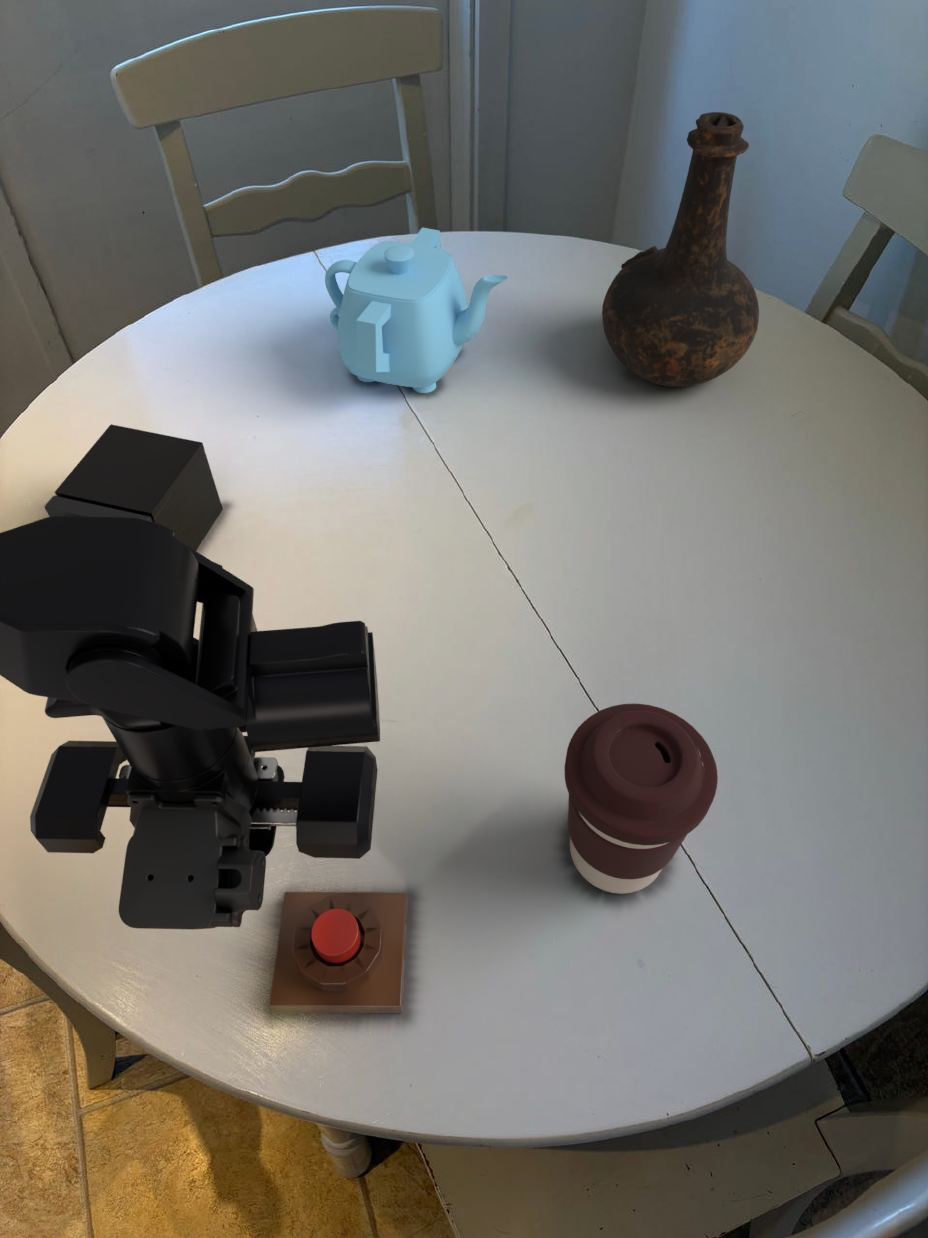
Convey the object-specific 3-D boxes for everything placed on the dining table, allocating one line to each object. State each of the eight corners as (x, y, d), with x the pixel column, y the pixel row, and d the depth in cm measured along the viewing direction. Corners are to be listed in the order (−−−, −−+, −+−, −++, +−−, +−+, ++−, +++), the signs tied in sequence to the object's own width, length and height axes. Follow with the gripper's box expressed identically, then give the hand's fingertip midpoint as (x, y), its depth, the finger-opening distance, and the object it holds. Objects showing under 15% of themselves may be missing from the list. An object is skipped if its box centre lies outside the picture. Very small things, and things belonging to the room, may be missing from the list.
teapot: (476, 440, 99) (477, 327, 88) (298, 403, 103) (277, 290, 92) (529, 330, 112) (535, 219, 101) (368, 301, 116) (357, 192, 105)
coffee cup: (541, 896, 67) (555, 805, 55) (563, 781, 73) (580, 677, 61) (674, 927, 65) (718, 840, 53) (686, 807, 71) (727, 705, 59)
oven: (177, 578, 87) (151, 513, 80) (87, 558, 88) (54, 491, 81) (223, 509, 93) (202, 442, 86) (137, 490, 94) (110, 423, 87)
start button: (312, 963, 61) (308, 955, 59) (317, 917, 63) (313, 908, 61) (359, 964, 61) (356, 955, 59) (362, 917, 63) (360, 908, 61)
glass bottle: (666, 303, 115) (711, 64, 93) (775, 368, 107) (854, 121, 85) (565, 356, 108) (588, 111, 86) (673, 430, 100) (730, 178, 78)
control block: (273, 1013, 62) (263, 998, 59) (288, 900, 67) (280, 882, 64) (402, 1013, 62) (399, 999, 59) (407, 900, 67) (404, 882, 64)
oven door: (155, 612, 84) (126, 549, 77) (62, 589, 86) (26, 526, 79) (176, 579, 86) (150, 516, 80) (85, 558, 88) (53, 494, 81)
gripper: (-64, 880, 40) (57, 983, 53) (347, 888, 40) (371, 989, 52) (17, 678, 47) (107, 810, 59) (367, 685, 47) (385, 816, 59)
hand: (238, 857), depth 57 cm, fingers closed
